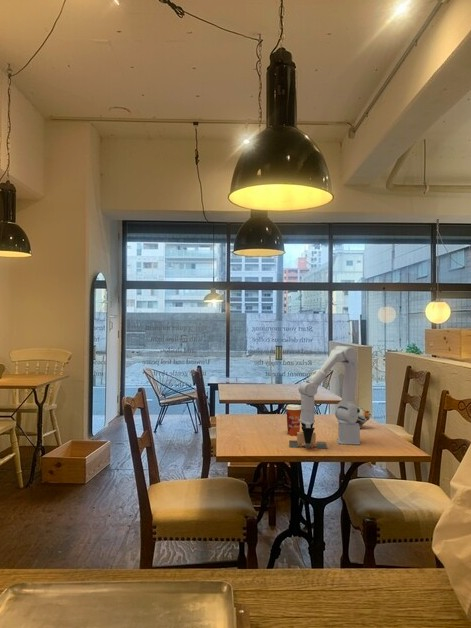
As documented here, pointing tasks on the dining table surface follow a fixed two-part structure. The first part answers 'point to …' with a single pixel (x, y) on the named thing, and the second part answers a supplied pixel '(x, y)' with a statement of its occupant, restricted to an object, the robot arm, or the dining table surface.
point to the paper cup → (293, 419)
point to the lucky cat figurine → (362, 416)
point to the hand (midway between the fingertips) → (307, 441)
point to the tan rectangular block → (302, 440)
